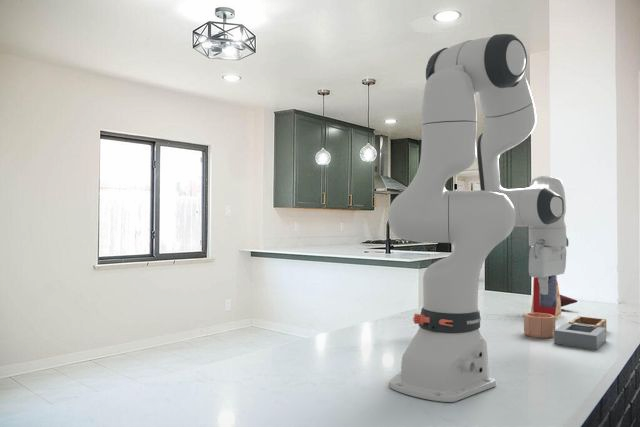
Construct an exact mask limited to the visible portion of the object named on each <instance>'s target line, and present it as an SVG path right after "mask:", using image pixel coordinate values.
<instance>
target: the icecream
mask: <svg viewBox="0 0 640 427" xmlns="http://www.w3.org/2000/svg"><path fill="white" fill-rule="evenodd" d="M560 300H561V308H562V307H566V306H568V305H572V304H575V303H578V300H577V299H574V298H571V297H568V296H566V295H562V294H560Z"/></svg>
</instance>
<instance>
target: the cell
mask: <svg viewBox="0 0 640 427" xmlns="http://www.w3.org/2000/svg"><path fill="white" fill-rule="evenodd" d="M548 287H549V294H547V295H544V294H541V293H540V285H539V296H540V306H543V307H557V285H556V275H553V276H549V280H548Z"/></svg>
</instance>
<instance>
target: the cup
mask: <svg viewBox="0 0 640 427" xmlns="http://www.w3.org/2000/svg"><path fill="white" fill-rule="evenodd" d="M554 330H556V319H555V316H554V315H551V314H545V313H531V312H526V313H524V314H523V333H524V335H525V336H527V337H531V338H539V339H550V338H551V339H552V338H554Z"/></svg>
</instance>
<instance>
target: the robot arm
mask: <svg viewBox="0 0 640 427" xmlns="http://www.w3.org/2000/svg"><path fill="white" fill-rule="evenodd" d="M527 64H528V55H527V51H526V48H525V45H524V44H523V42H522V41H521V40H520V39H519V38H518V37H517V36H516V35H514V34H511V33H500V34H497V33H496V34H494V35H493V36H488V37H487V36H486V37H483V38H482V37H481V38H476V39H469V40H465V41H461V42H459V43H456V44H455V45H452V46H449V47H443V48H442V49H440V50H438V51H436V52H435V53H433V54H432V55H431V56H430V57H429V59H428V61H427V64H426V68H425V80H426V82H425V86H424V91H423V97H422V98H423V99H422V104H421V105H422V107H421V147H420V150H421V151H420V158H419V160H420V161H419V165H418V169H417V171H416V173H415V175H414V177H413V178H412V181H411V182H410V183H409V184H408V186H407V187H406V188H405V189H404V190H403V191H402V192H400V193H399V194H398V195H396V197H395V198H394V199H393V200H392V202H391V204H390V206H389V208H388V213H387V219H388V220H387V221H388V226H389V228H390V230H391V231H392V233H393V234H394V235H395V237H397V239H401V240H403V241H404V240H405V241H407V242H415V243H429V244H430V243H434V244H435V243H438V244H440V243H443V244H445V243H446V244H448V243H449V244H452V245H453V251H452V253H451V254H449V255H448V256H446V257H443V258H441V259H439V260H436V261H435V262H433V263H431V264H430V265H428V266H427V268H426V269H425V271H424V273H423V277H422V282H423V283H422V286H423V288H422V289H423V290H422V292H423V293H422V294H423V295H422V297H423V300H422V301H423V302H422V303H423V305H422V306H423V307H421V310H420V313H414V314H413V317H412V321H413V323H414V324H415V325H416V324H417V325H418V326H419V327H418V329H417V331H416V333H415V335H414V336H413V338H412V339H411V340H410V343H409V345H408V346H407V347H406V349H405V350H404V352H403V355H402V358H401V363H400V364H401V366H400V371H399V372H398V373H397V374H396V375H395V376H394V377H393V378H391V379H390V380H389V381H388V387H389V388H391V389H392V390H394V391H396V392H398V393H401V394H405V395H407V396H411V397H415V398H420V399H424V400H429V401H433V402H434V401H435V402H442V403H443V402H444V403H445V402H446V403H455V402H457V401H460V400H462V399H466V398H468V397H470V396H473V395H475V394H478V393H481V392H484V391H487V390H489V389H491V388H494V387H496V386H497V384H496V383H497V381H496V380H495V378H493V377H491V376H490V372H489V371H490V369H489V358H488V357H489V356H488V344H487V341H486V340H485V339H484V337H483V336H482V334H481V332H480V328H481V321H482V320H481V317H482V316H481V312H480V310H479V309H478V308H479V307H478V306H479V305H478V304H479V298H478V296H479V295H478V294H479V281H480V274H481V271H482V267H483V265H484V262H485V261H486V259H487V257H488V256H489V254H490V253H491V252H492V251H493V249H494V248H495V247H496V246H498V245H499V244H500V243H502V242H503V241H504V240H506V239H507V238H508V237H509V236H510V235H511V233H512V232H513V230H514V228H516V227H519V228H520V227H521V228H523V227H527V228H528V246H529V247H530V249H529V253H528V254H529V255H528V274H529V277H531V278H534V277H538V282H539V285H540V293H541V294H544V295H547V294H549V287H548V280H549V276H553V275H556V280H557V281H558V277H557V276H559V275H560V276H561V275H564V274H565V273H566V272H565V271H566V265H567V248H568V247H569V239H568V237H567V226H566V223H565V216H566V212H567V206H566V205H567V204H566V202H567V201H566V193H565V187H564V184H563V181H562V180H561V179H560V178H558V177H555V176H549V175H545V176H544V175H543V176H542V175H541V176H537V177H533V178H532V179H531V181H530V185H529V187H525V188H509V189H508V188H504V187H502V185H501V178H500V177H501V176H500V163H499V159H500V156H501V155H502V154H503V153H505V152H507V151H509V150H510V149H513V148H514V147H516V146H518V145H520V144H521V143H523V141H525V140H526V139H528V137H529V136H530V135H531V134H532V133H533V131H534V130H535V127H536V124H537V113H536V106H535V103H534V99H533V95H532V92H531V89H530V85H529V83H528V80H527V76H526V75H525V71H526V69H527ZM475 94H479V95H478V96H479V99H480V100H479V101H480V105H481V111H482V115H483V118H484V119H483V120H484V129H483V132H482V133H481V134H480V135H479V136H477V135H478V134H477V132H478V131H477V127H478V125H477V123H478V122H477V121H478V120H477V105H476V104H477V102H476V96H475ZM476 158H477V167H478V177H479V186H480V189H479V190H478V189H477V190H476V189H475V190H473V189H472V190H449V189H446V183H447V181H448V180H450V179H451V178H453V177H455V176H457V175H460V174H461V173H462V172H464V171H465V170H467V169H469V168H471V166H472V165H473V164H474V163H475V161H476Z"/></svg>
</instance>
